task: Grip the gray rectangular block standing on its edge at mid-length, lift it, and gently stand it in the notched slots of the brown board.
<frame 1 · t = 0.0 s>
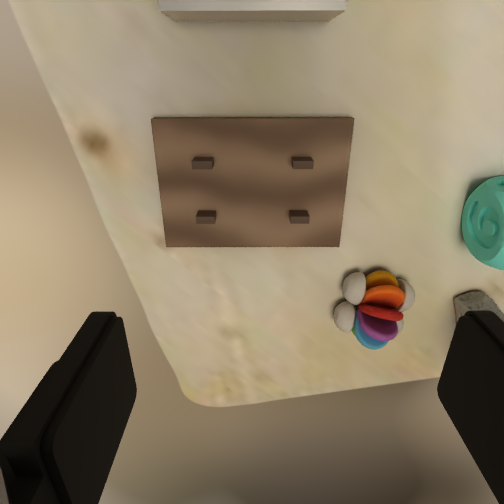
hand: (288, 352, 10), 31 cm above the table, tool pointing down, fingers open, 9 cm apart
rainbow petal toy: (367, 296, 47), on the table
brown board: (252, 184, 40), on the table
decorative dice: (496, 208, 41), on the table
decorative stone: (468, 321, 49), on the table
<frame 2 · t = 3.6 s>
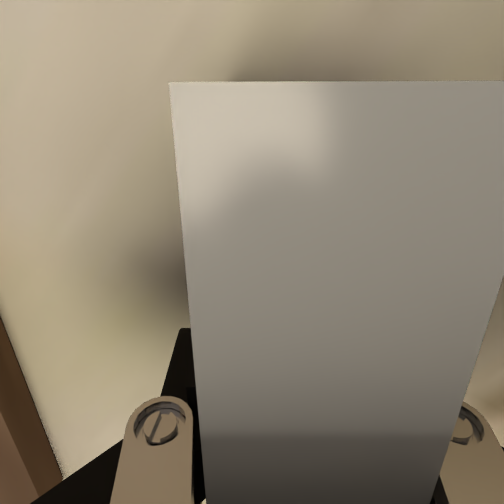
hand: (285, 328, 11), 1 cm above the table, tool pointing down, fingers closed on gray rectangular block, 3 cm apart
gray rectangular block: (281, 308, 12), on the table, touching gripper
when the fingers open (5 cm above the table, at t = 10.3 s): gray rectangular block drops 1 cm, resting on brown board.
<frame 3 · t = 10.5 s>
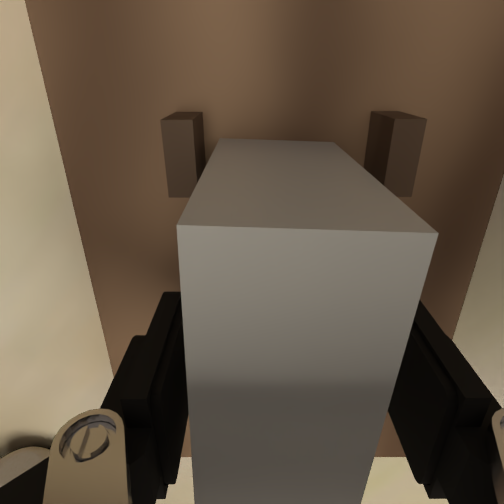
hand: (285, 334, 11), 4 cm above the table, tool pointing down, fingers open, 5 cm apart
rainbow petal toy: (12, 472, 21), on the table
gray rectangular block: (265, 323, 14), point 1 cm above the table, touching brown board
brown board: (277, 264, 15), on the table
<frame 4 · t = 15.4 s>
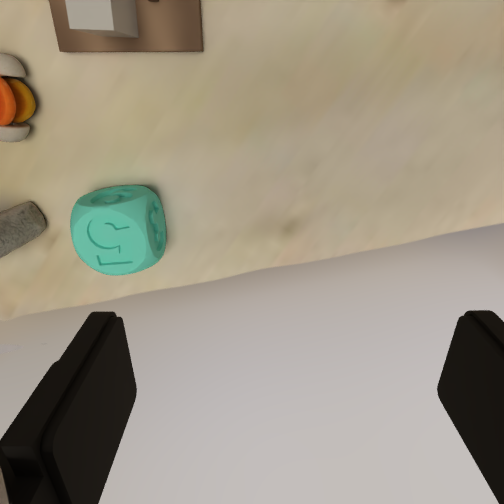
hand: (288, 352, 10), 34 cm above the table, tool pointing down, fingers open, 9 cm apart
decorative dice: (133, 215, 45), on the table
decorative stone: (8, 224, 46), on the table
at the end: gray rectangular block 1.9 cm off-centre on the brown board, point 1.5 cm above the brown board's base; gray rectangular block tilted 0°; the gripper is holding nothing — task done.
